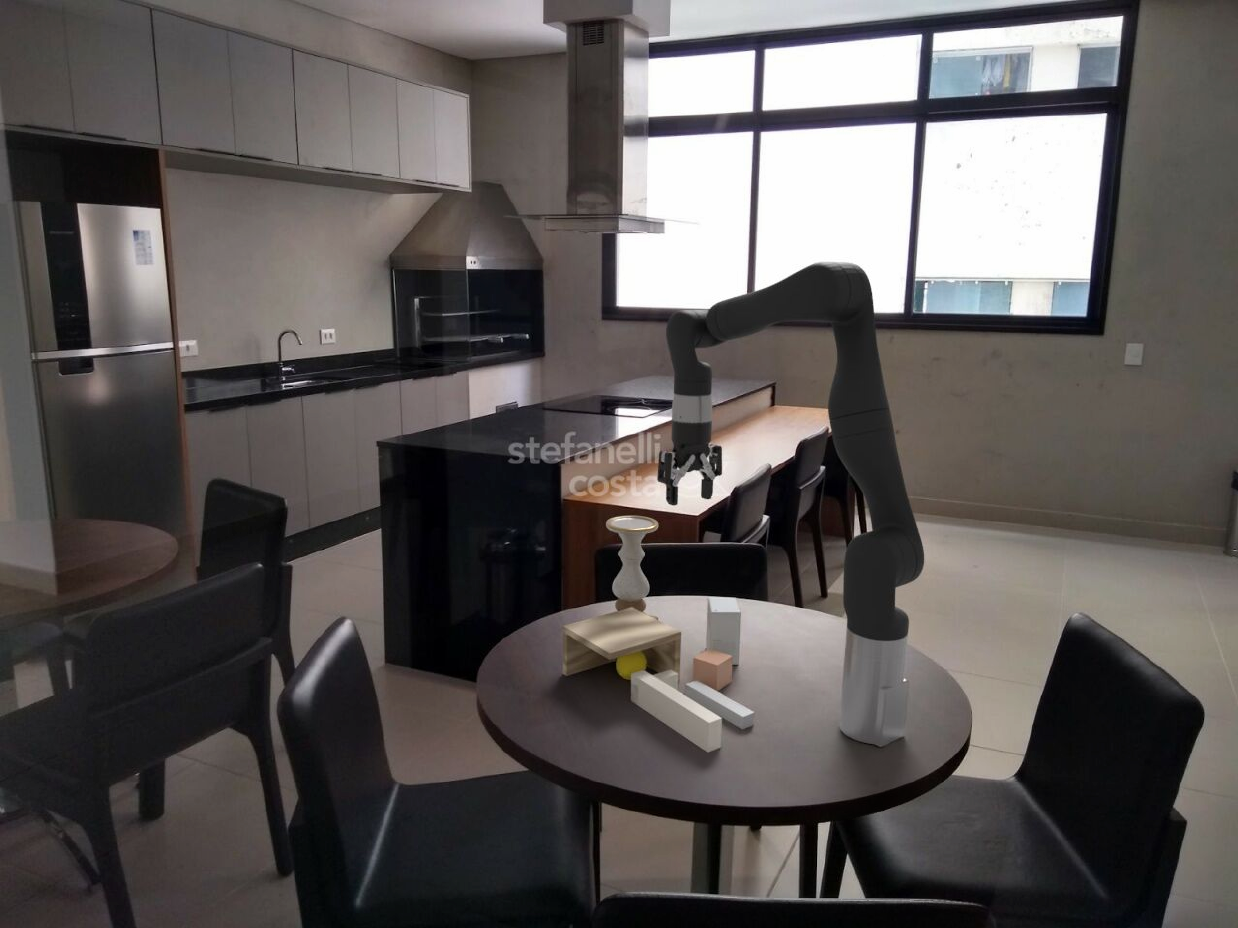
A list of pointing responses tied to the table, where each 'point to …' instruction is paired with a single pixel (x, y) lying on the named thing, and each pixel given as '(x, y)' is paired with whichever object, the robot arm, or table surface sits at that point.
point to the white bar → (676, 708)
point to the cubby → (620, 641)
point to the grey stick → (720, 704)
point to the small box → (724, 626)
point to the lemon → (631, 664)
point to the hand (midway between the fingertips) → (689, 501)
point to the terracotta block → (713, 669)
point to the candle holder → (631, 561)
